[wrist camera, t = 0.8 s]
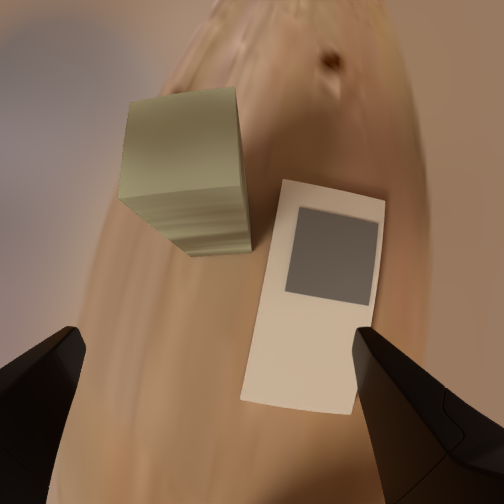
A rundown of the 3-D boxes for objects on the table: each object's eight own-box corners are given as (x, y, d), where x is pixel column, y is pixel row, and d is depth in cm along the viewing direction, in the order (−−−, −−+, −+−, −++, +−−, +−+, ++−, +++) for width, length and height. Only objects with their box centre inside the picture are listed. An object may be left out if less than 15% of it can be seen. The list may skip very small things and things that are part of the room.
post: (252, 252, 23) (240, 185, 10) (191, 257, 23) (118, 198, 10) (248, 194, 24) (234, 86, 11) (190, 199, 24) (129, 102, 11)
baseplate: (346, 409, 20) (351, 415, 19) (241, 395, 21) (239, 400, 19) (380, 205, 23) (386, 200, 22) (281, 185, 24) (283, 177, 22)
